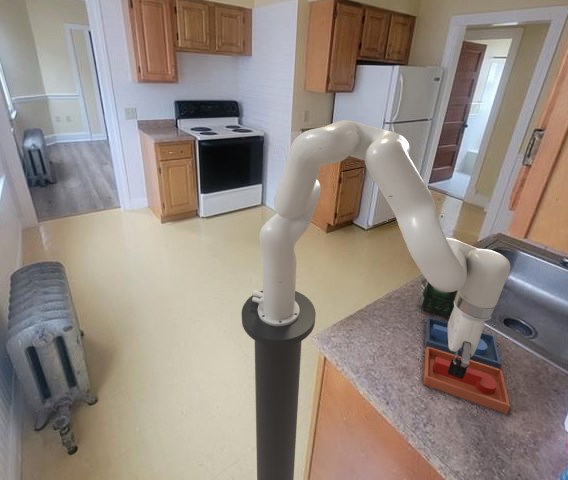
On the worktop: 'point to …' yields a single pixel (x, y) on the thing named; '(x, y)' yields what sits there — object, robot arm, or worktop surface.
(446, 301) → the coffee jar
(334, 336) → the worktop surface
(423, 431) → the worktop surface
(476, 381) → the red bar with disc
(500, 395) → the tray orange
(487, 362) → the tray blue
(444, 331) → the blue bar with disc
